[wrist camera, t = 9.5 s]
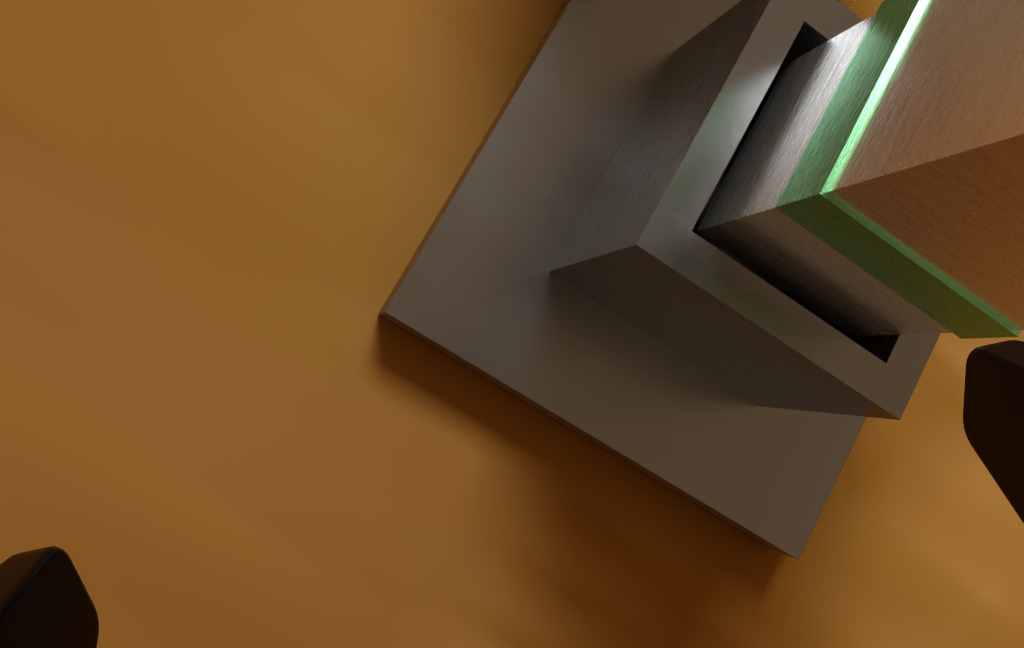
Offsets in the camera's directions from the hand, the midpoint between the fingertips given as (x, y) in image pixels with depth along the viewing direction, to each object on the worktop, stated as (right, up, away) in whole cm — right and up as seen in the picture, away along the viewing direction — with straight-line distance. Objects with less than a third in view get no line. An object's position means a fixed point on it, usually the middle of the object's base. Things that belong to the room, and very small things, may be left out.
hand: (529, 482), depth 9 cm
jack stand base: (+5, +4, +14) cm, 16 cm away
